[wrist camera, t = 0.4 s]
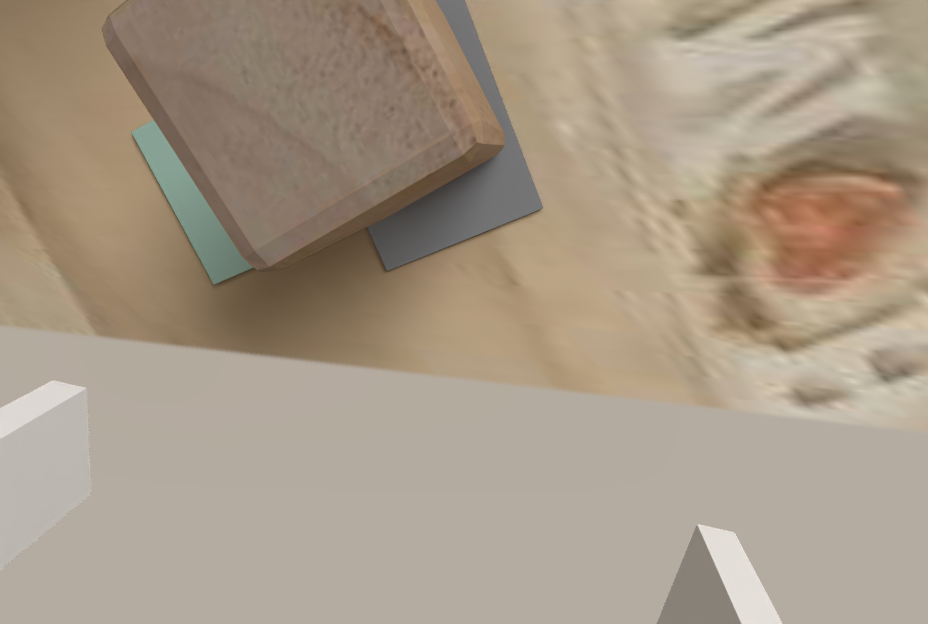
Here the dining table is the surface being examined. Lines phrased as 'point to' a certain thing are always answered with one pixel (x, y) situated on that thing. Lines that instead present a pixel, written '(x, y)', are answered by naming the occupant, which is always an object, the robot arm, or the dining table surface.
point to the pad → (190, 206)
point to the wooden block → (305, 110)
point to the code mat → (462, 178)
